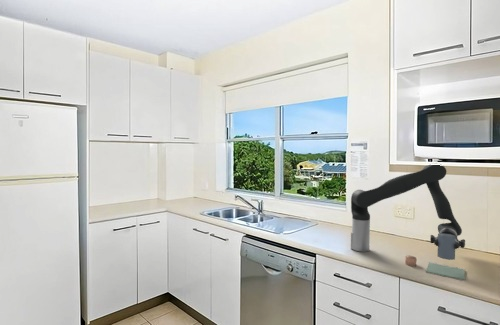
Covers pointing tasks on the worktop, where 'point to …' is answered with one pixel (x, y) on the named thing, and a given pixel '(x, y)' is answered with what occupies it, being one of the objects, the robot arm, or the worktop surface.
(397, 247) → the worktop surface
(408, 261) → the cylinder
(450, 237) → the grey octagonal prism
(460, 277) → the mat
